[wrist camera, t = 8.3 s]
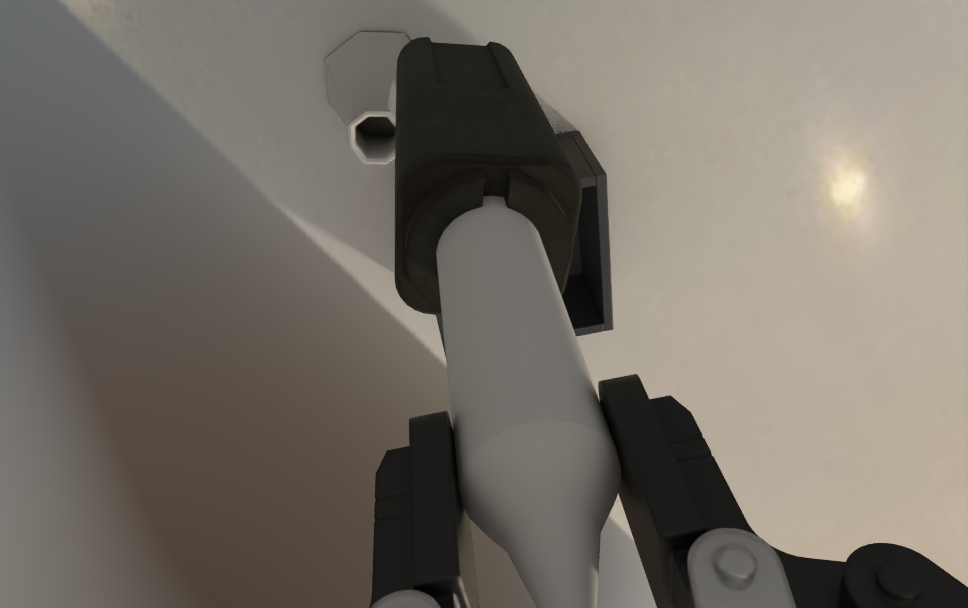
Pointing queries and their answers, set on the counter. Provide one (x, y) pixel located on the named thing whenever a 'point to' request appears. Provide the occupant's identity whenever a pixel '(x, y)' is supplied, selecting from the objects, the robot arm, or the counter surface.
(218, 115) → the counter surface
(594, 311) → the bin
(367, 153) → the flask
